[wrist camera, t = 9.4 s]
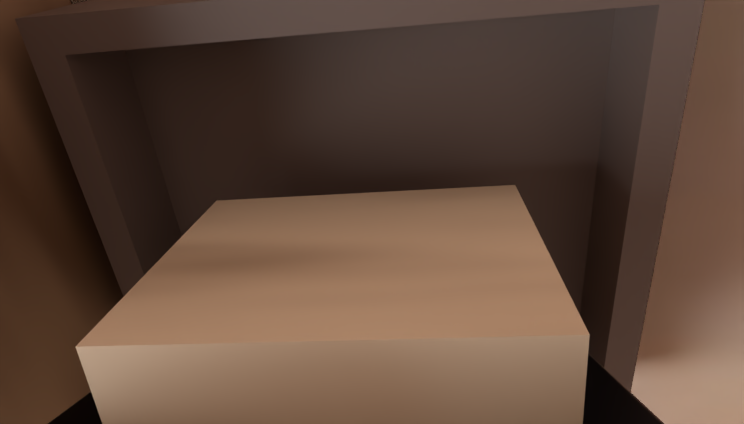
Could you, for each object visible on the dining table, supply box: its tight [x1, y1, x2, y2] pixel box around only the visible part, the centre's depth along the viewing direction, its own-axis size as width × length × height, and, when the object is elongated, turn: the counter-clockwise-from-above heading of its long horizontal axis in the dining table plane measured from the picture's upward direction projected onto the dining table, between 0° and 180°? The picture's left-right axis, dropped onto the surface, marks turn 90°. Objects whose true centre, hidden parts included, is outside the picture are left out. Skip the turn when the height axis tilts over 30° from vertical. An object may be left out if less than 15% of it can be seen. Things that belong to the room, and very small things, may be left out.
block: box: [76, 185, 590, 424], centre depth 9 cm, size 6×6×4 cm
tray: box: [15, 0, 705, 392], centre depth 11 cm, size 10×10×3 cm
